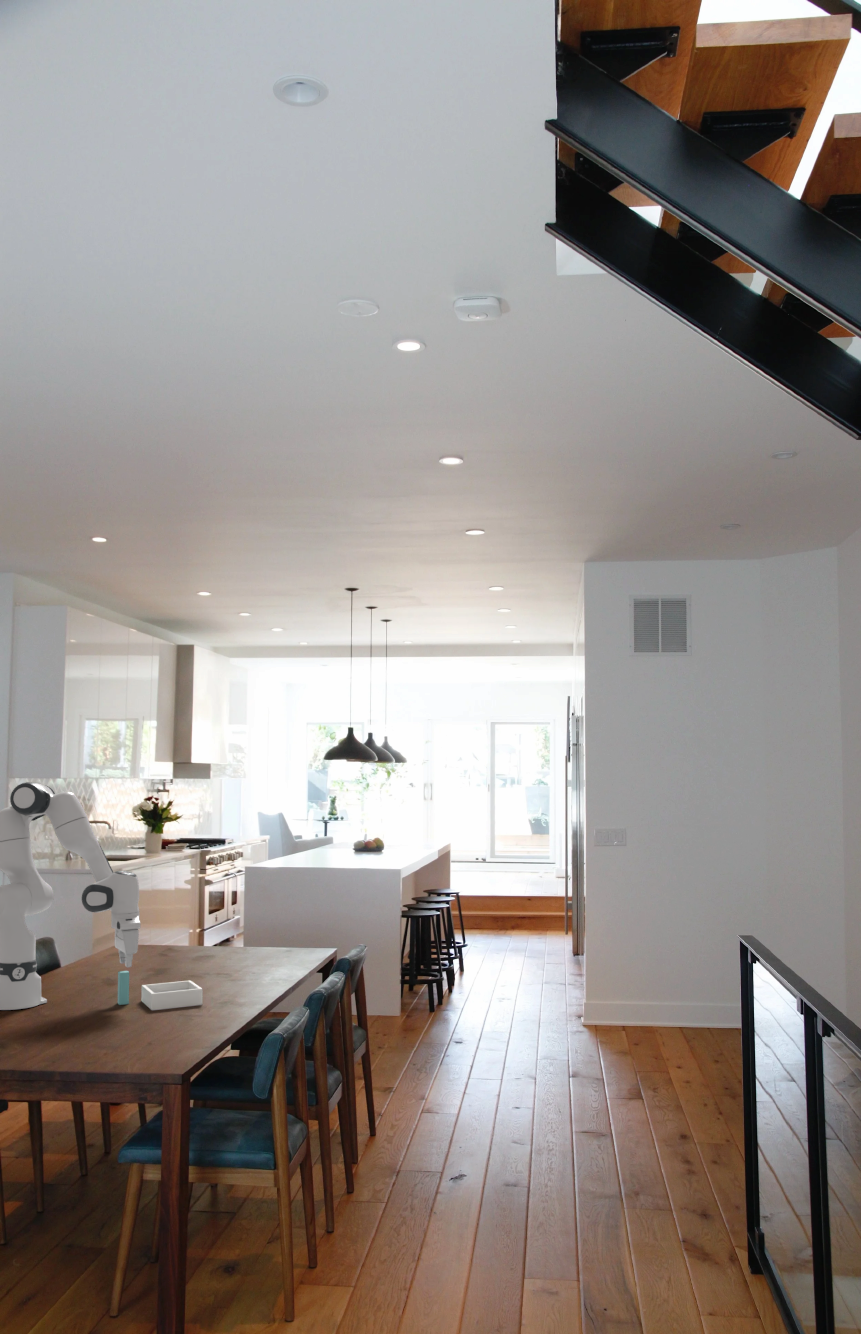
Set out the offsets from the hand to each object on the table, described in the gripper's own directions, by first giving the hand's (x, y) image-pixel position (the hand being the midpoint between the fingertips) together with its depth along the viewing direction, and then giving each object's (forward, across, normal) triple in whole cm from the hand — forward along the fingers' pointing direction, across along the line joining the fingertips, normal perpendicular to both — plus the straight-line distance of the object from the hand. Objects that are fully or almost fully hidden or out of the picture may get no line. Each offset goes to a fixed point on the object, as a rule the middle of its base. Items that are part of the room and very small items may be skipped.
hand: (125, 965), depth 336 cm
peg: (+12, -1, -1) cm, 12 cm away
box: (+12, +6, +13) cm, 19 cm away
